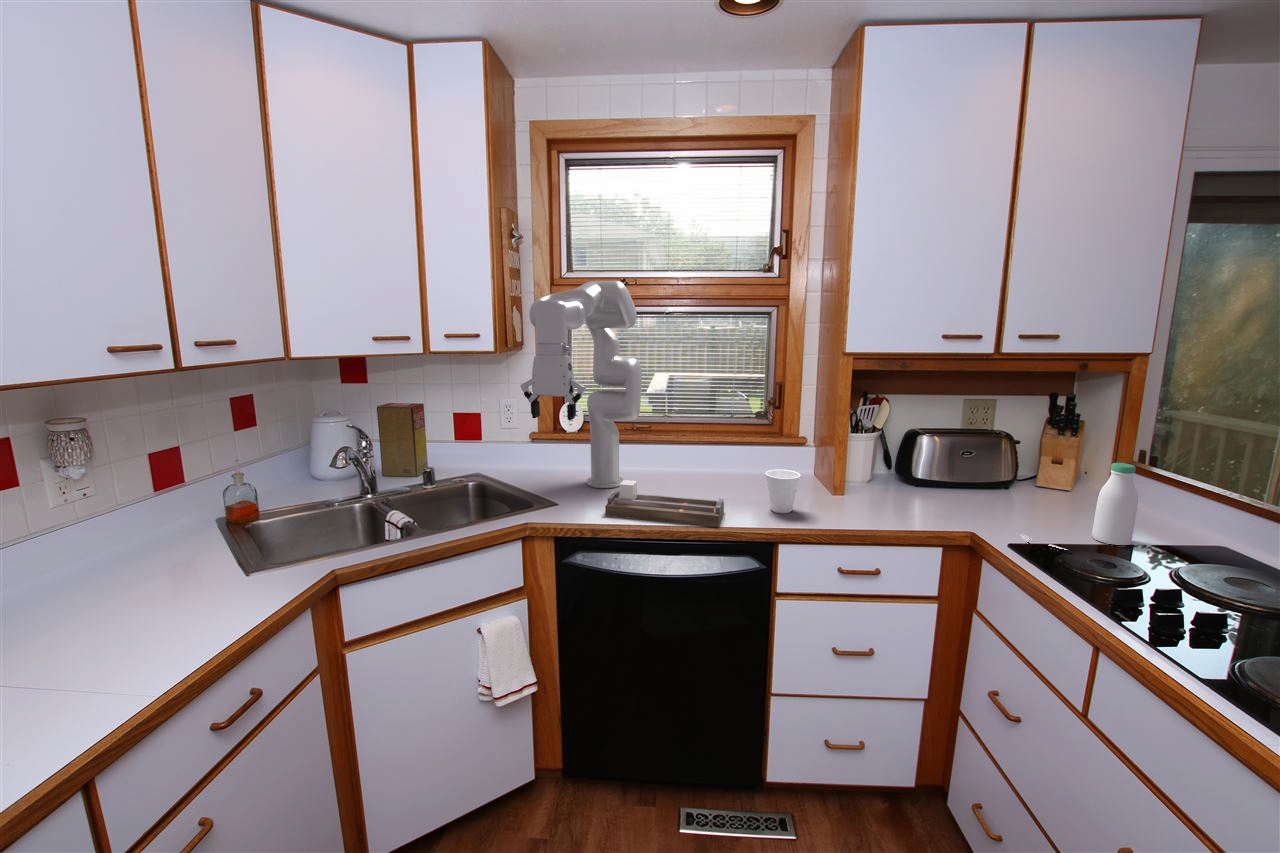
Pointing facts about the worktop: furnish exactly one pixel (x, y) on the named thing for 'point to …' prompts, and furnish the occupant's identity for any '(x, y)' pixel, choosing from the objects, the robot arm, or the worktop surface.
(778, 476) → the cup
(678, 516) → the fader console
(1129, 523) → the milk bottle
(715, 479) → the worktop surface
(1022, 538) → the fork
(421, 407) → the food packaging
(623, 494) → the fader tab
